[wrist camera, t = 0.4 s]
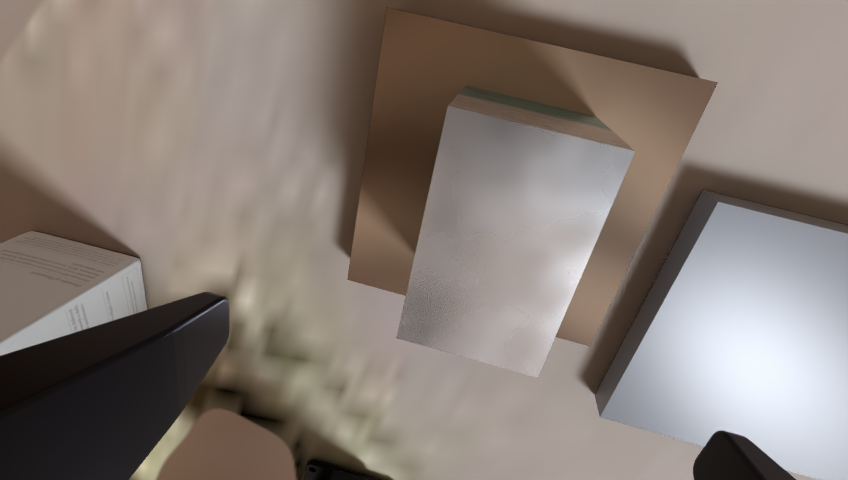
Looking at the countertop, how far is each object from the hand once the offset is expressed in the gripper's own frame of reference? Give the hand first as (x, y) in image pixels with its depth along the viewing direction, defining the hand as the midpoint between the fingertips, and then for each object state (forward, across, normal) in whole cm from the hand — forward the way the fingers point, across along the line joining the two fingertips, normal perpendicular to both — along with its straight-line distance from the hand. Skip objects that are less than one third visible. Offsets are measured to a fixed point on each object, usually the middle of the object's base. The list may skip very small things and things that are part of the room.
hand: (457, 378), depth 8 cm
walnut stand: (+13, -1, 0) cm, 13 cm away
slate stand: (+13, -15, +4) cm, 20 cm away
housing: (+11, -1, 0) cm, 11 cm away
